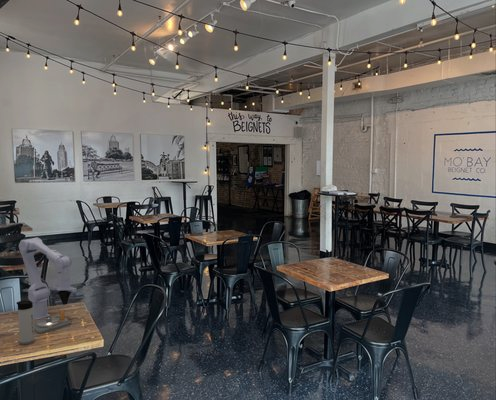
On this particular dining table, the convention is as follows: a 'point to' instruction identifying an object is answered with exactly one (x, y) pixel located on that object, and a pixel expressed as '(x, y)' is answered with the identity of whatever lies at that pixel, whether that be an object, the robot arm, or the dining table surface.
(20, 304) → the travel mug
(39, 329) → the base plate
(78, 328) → the dining table surface
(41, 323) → the lidded saucepan
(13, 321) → the dining table surface
